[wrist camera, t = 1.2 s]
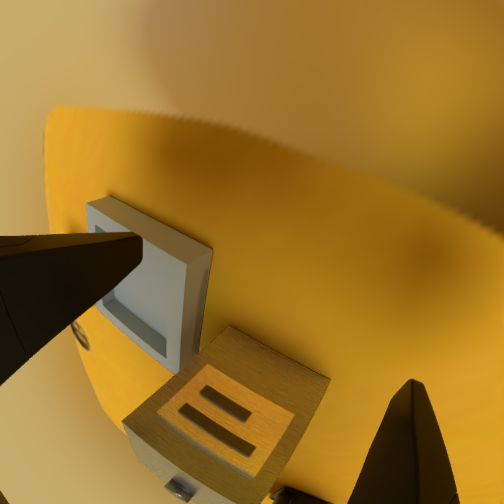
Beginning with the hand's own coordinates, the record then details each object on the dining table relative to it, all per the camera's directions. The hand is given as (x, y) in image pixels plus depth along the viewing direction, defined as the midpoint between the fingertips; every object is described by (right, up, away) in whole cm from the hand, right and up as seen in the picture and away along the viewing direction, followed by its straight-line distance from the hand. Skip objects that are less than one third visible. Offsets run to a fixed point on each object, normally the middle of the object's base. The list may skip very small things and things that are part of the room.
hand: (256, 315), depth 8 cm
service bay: (-7, 0, +12) cm, 14 cm away
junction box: (+1, -7, +10) cm, 12 cm away
